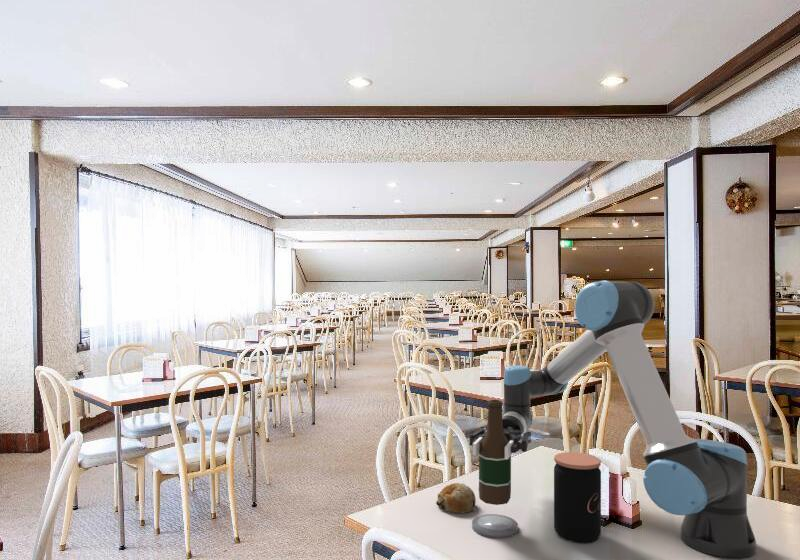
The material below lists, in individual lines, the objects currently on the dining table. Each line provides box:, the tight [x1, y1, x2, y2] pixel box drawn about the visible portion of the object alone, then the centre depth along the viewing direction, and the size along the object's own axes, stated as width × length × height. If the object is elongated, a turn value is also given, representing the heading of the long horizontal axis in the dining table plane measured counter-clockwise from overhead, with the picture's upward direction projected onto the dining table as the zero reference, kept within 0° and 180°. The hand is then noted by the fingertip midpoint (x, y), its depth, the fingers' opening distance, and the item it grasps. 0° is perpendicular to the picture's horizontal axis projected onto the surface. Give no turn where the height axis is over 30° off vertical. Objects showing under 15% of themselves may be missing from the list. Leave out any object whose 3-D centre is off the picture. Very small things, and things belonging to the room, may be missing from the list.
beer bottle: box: [478, 399, 512, 506], centre depth 140 cm, size 8×8×24 cm
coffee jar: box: [553, 451, 602, 544], centre depth 136 cm, size 11×11×18 cm
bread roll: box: [436, 482, 477, 514], centre depth 153 cm, size 10×10×8 cm
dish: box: [471, 513, 519, 539], centre depth 140 cm, size 11×11×1 cm
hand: (490, 451), depth 135 cm, fingers closed on beer bottle, 7 cm apart
